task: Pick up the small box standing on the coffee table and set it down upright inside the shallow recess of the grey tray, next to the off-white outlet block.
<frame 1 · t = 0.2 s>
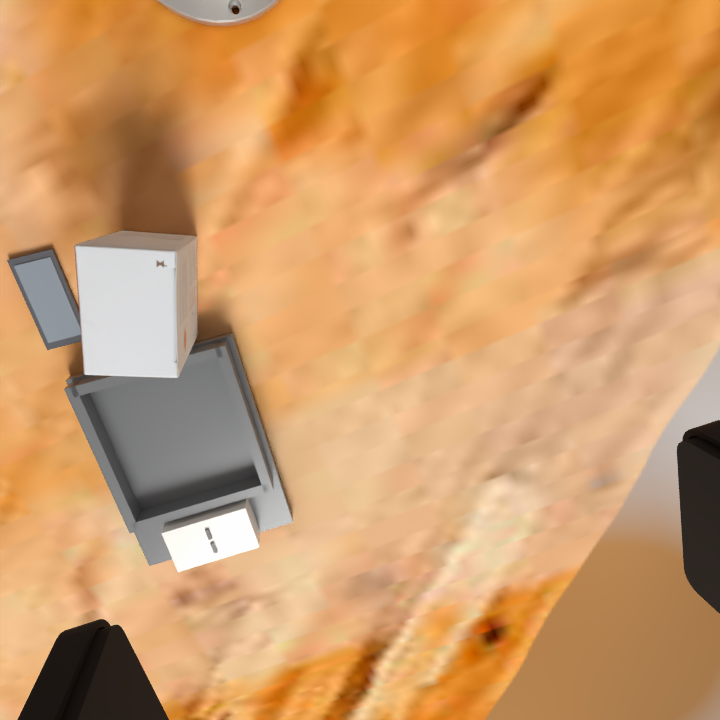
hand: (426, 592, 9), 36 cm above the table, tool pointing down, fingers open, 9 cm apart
small box: (162, 284, 41), on the table
phone: (54, 298, 40), on the table
grey tray: (189, 451, 45), on the table
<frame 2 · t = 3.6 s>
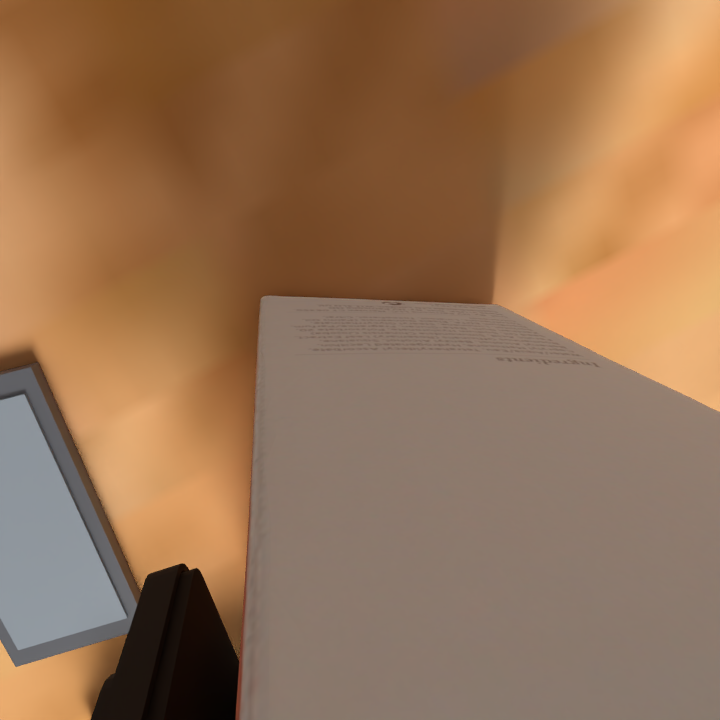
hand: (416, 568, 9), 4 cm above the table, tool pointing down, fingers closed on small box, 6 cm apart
small box: (369, 451, 13), on the table, touching gripper
phone: (39, 507, 13), on the table
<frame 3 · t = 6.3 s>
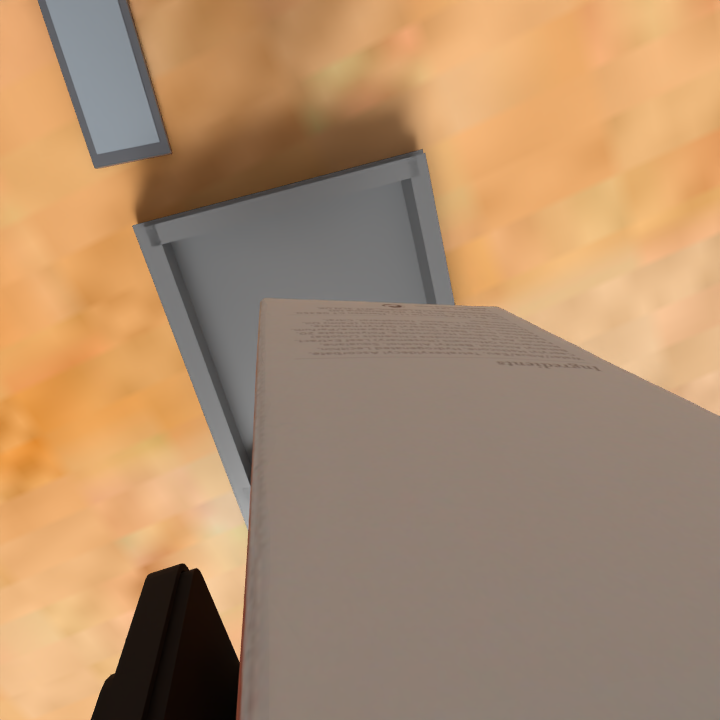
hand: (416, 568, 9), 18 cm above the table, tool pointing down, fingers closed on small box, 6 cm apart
small box: (369, 454, 13), point 14 cm above the table, touching gripper
phone: (110, 74, 22), on the table
grey tray: (331, 368, 27), on the table
when the fingers open (7 cm above the table, at t = 9.1 s): small box drops 1 cm, resting on grey tray.
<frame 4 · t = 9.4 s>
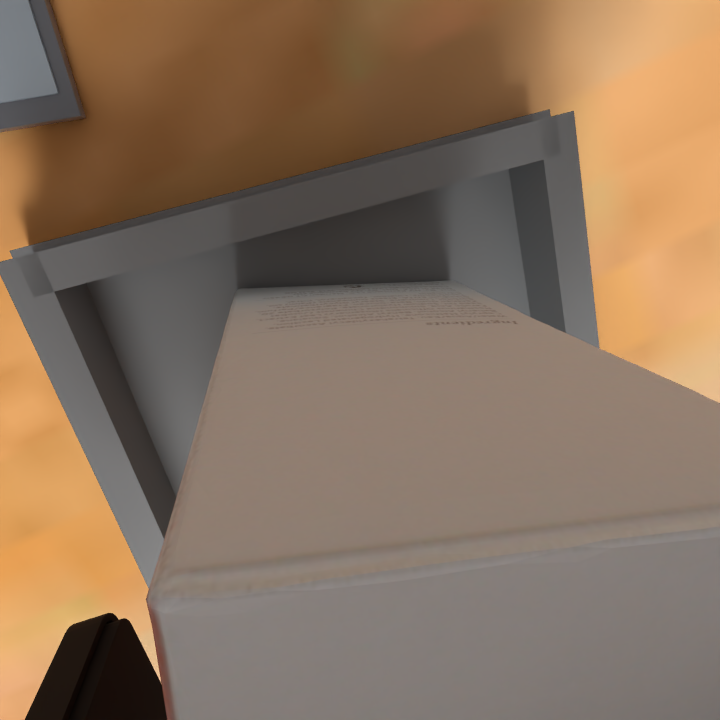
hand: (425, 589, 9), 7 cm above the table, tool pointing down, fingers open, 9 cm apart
small box: (349, 424, 15), point 1 cm above the table, touching grey tray
grey tray: (373, 481, 16), on the table
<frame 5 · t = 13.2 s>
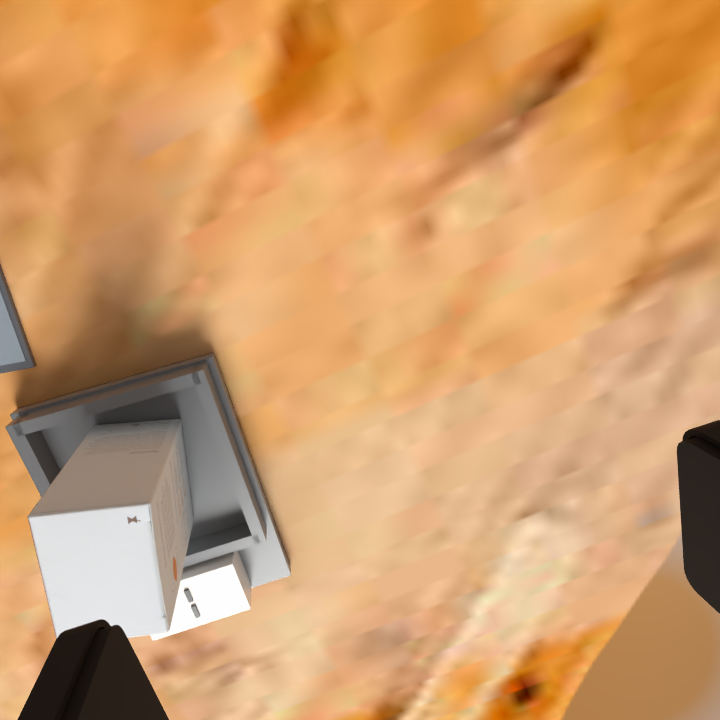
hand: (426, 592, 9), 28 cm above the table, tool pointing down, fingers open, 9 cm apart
small box: (147, 472, 36), point 1 cm above the table, touching grey tray
grey tray: (166, 494, 38), on the table
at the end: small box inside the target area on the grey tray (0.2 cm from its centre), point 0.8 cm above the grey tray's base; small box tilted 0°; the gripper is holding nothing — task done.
